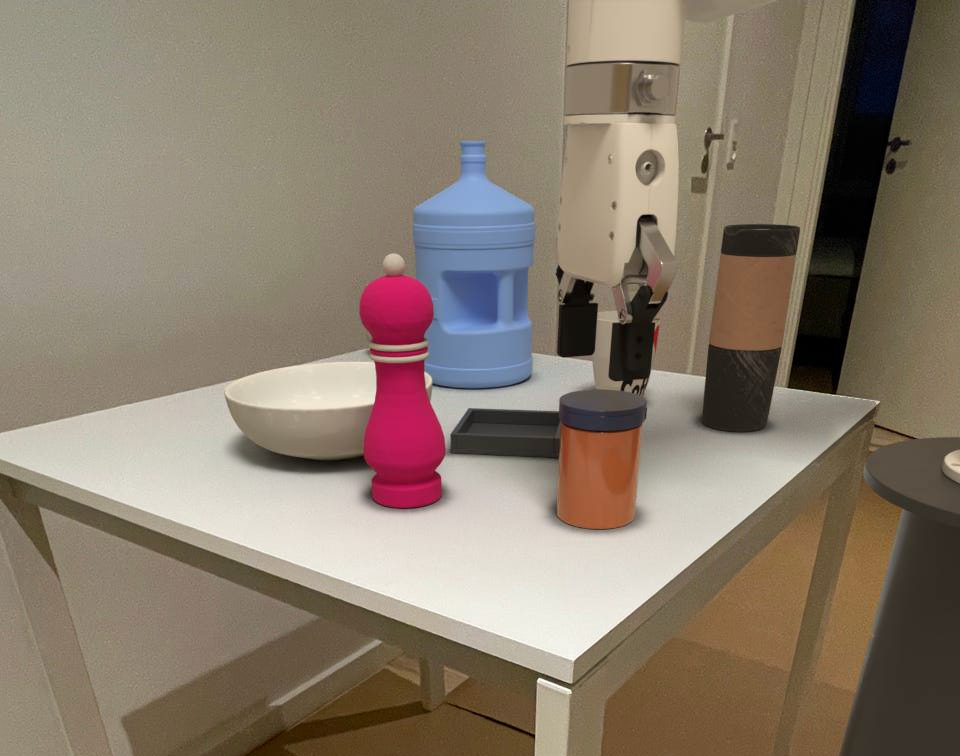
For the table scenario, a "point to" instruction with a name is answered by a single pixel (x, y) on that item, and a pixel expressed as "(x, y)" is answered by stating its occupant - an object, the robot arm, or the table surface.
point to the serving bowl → (308, 408)
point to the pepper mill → (401, 391)
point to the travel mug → (748, 324)
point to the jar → (598, 476)
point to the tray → (507, 433)
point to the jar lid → (602, 409)
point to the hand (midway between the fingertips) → (600, 365)
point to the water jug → (476, 278)
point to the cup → (603, 357)
